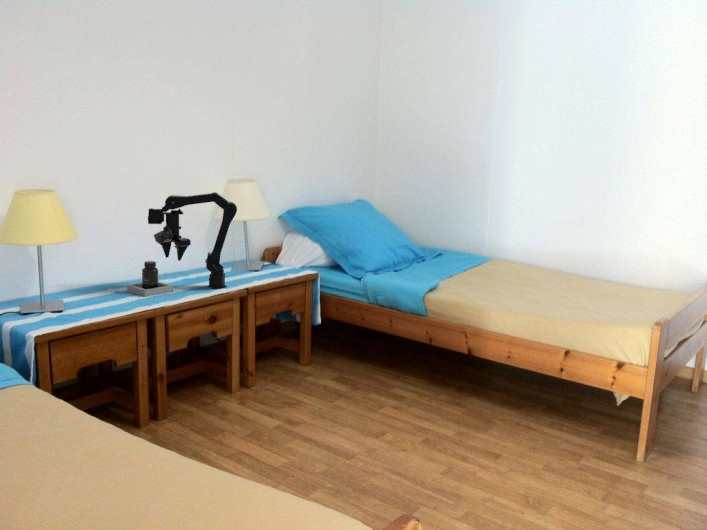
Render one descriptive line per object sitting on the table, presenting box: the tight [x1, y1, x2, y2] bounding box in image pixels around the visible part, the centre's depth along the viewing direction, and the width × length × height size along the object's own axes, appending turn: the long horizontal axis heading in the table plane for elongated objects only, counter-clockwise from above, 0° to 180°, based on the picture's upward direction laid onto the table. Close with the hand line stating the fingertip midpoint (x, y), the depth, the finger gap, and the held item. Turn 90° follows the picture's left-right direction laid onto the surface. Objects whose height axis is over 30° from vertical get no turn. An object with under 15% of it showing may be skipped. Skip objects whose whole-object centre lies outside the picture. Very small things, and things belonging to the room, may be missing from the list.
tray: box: [126, 281, 174, 297], centre depth 299 cm, size 14×14×3 cm
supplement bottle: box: [141, 260, 159, 289], centre depth 297 cm, size 7×7×12 cm
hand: (173, 259), depth 305 cm, fingers open, 9 cm apart
